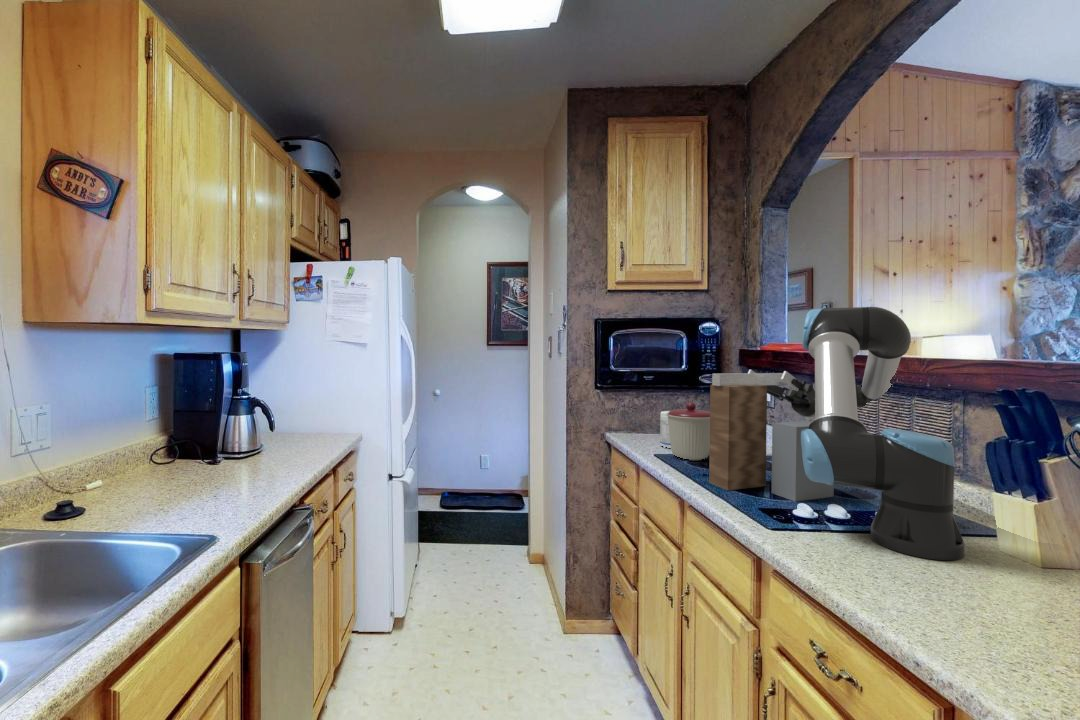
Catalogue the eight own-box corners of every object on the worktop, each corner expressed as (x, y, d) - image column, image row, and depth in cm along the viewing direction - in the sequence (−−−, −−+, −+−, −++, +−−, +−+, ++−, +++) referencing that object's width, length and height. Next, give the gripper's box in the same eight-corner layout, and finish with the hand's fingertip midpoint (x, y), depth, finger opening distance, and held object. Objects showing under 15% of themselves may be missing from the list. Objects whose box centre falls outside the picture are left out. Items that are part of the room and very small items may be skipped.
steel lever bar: (781, 384, 147) (781, 373, 147) (789, 385, 143) (789, 373, 143) (712, 385, 140) (712, 373, 140) (719, 385, 137) (719, 374, 137)
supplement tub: (668, 443, 204) (669, 410, 204) (688, 447, 197) (688, 412, 197) (655, 446, 198) (655, 411, 198) (674, 450, 191) (674, 414, 190)
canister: (686, 465, 165) (687, 405, 165) (656, 454, 182) (656, 400, 182) (726, 461, 172) (727, 404, 172) (693, 451, 189) (693, 399, 188)
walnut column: (745, 479, 147) (746, 384, 146) (765, 486, 139) (767, 385, 139) (709, 483, 142) (710, 384, 142) (727, 490, 135) (729, 386, 134)
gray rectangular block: (808, 488, 137) (809, 420, 137) (833, 496, 130) (834, 424, 129) (771, 493, 132) (772, 422, 132) (795, 501, 125) (796, 427, 125)
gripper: (841, 422, 138) (794, 387, 131) (773, 412, 161) (731, 382, 155) (851, 400, 139) (805, 364, 133) (782, 393, 162) (740, 362, 156)
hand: (765, 374), depth 144 cm, fingers open, 13 cm apart
